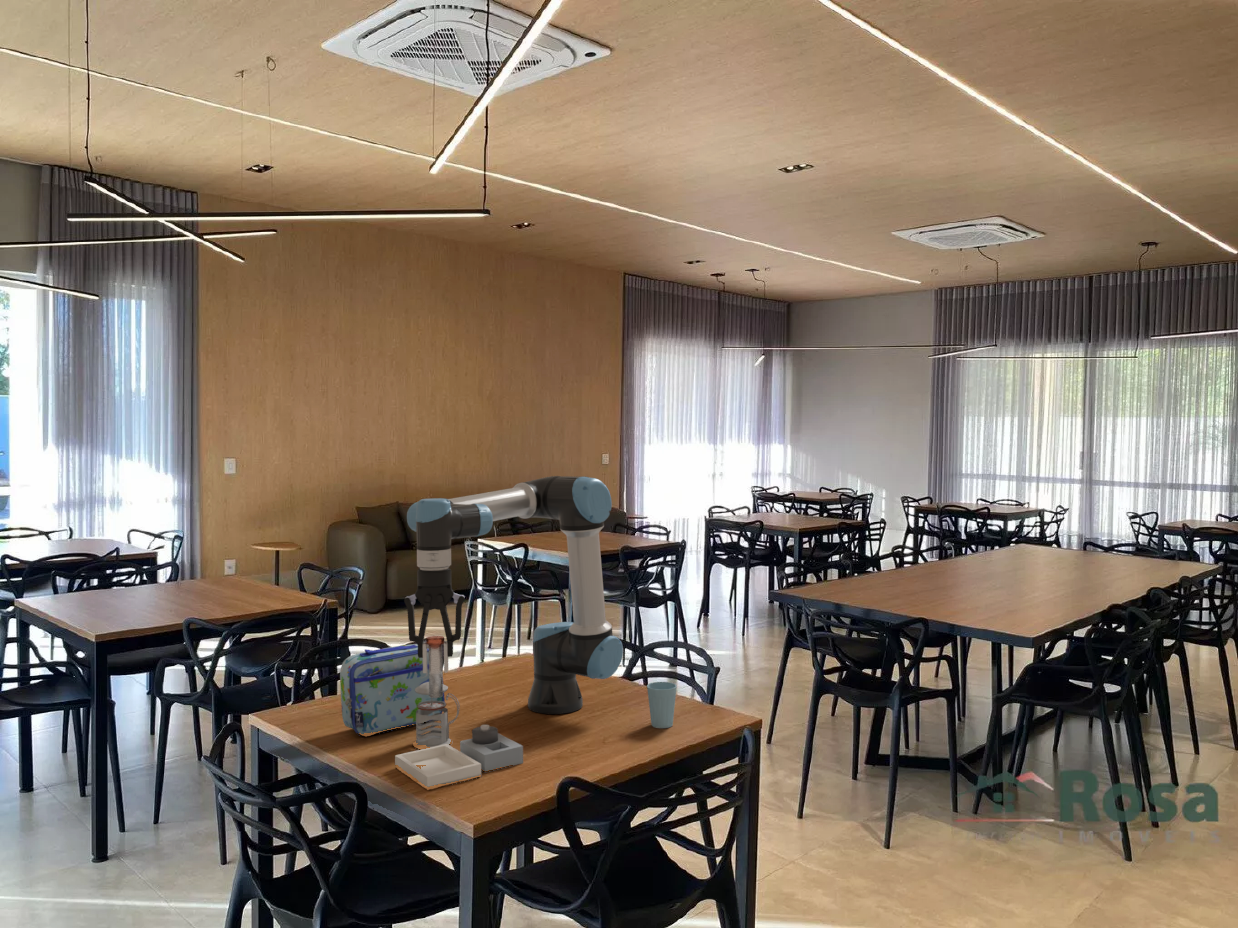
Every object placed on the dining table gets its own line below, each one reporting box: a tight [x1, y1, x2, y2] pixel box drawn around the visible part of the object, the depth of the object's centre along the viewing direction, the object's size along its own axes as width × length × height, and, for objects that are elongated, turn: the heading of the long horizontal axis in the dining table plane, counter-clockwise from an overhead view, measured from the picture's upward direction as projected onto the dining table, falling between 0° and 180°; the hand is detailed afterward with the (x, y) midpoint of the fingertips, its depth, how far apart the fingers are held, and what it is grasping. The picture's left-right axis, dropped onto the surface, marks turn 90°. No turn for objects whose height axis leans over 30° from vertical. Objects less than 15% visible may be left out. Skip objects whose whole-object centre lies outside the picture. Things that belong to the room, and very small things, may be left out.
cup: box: [646, 681, 678, 729], centre depth 250 cm, size 8×8×10 cm
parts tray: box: [394, 744, 482, 787], centre depth 217 cm, size 17×13×3 cm
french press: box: [415, 645, 460, 747], centre depth 236 cm, size 10×12×25 cm
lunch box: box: [339, 643, 446, 735], centre depth 250 cm, size 26×11×21 cm, turn 126°
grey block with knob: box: [459, 724, 524, 771], centre depth 224 cm, size 12×10×7 cm
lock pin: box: [425, 635, 445, 698], centre depth 216 cm, size 4×4×13 cm
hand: (435, 671), depth 216 cm, fingers closed on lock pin, 4 cm apart
